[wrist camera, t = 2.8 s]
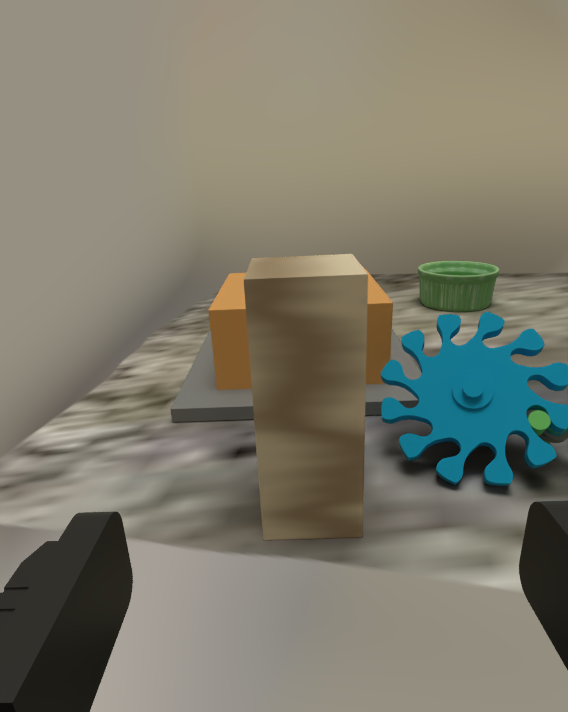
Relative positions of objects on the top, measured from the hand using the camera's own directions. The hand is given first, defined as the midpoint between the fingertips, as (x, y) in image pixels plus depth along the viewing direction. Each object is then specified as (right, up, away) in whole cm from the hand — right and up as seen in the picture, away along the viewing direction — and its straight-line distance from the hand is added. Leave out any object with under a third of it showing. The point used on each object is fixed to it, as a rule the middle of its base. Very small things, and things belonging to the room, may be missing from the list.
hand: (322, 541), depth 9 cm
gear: (+10, -2, +18) cm, 21 cm away
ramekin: (+20, +10, +47) cm, 52 cm away
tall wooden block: (+1, -4, +14) cm, 15 cm away
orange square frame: (+1, +3, +31) cm, 31 cm away
